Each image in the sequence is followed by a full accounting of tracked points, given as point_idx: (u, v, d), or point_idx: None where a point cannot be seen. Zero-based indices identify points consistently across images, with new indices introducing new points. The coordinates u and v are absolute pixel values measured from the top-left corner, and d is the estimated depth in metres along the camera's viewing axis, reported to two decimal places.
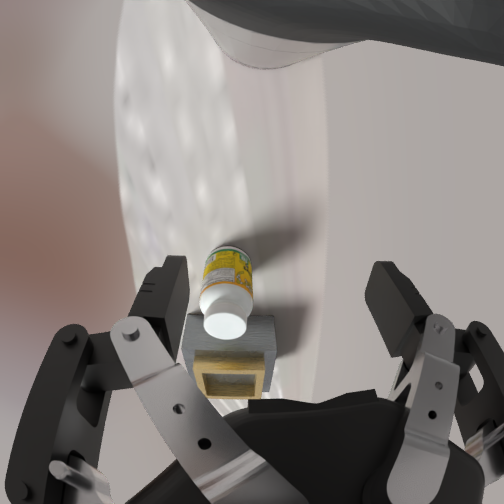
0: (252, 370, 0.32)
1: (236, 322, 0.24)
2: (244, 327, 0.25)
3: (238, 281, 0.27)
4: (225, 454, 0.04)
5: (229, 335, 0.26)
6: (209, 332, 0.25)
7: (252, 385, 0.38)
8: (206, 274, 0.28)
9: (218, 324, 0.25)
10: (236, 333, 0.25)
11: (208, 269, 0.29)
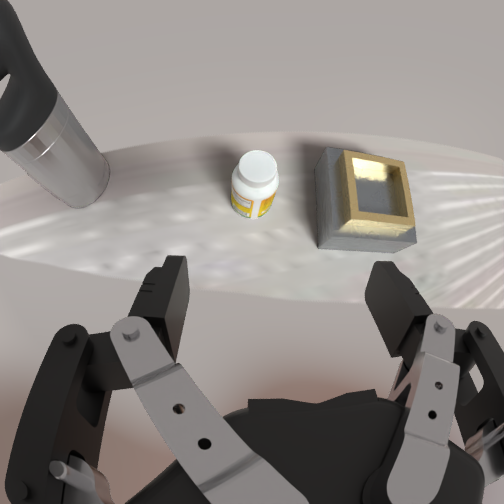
0: (346, 160, 0.30)
1: (251, 156, 0.28)
2: (258, 151, 0.28)
3: None
4: (225, 454, 0.04)
5: (270, 163, 0.28)
6: (266, 178, 0.27)
7: (392, 174, 0.33)
8: (238, 203, 0.32)
9: (254, 170, 0.27)
10: (267, 157, 0.28)
11: (237, 204, 0.33)
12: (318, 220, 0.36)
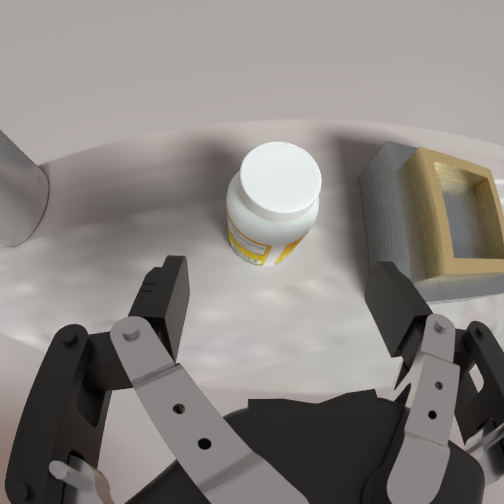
0: (426, 165, 0.15)
1: (266, 154, 0.13)
2: (280, 144, 0.13)
3: None
4: (225, 454, 0.04)
5: (307, 169, 0.13)
6: (301, 203, 0.12)
7: (474, 188, 0.18)
8: (242, 246, 0.17)
9: (274, 184, 0.13)
10: (300, 157, 0.13)
11: (239, 246, 0.18)
12: (371, 262, 0.21)
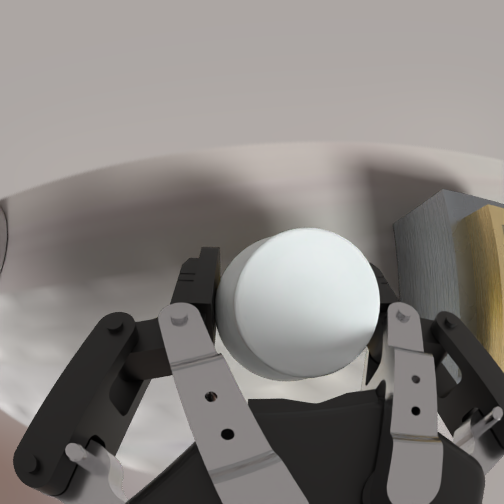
0: (495, 233, 0.10)
1: (285, 260, 0.07)
2: (311, 233, 0.07)
3: None
4: (245, 448, 0.04)
5: (357, 286, 0.07)
6: (345, 358, 0.07)
7: None
8: None
9: (299, 325, 0.07)
10: (347, 261, 0.07)
11: None
12: None
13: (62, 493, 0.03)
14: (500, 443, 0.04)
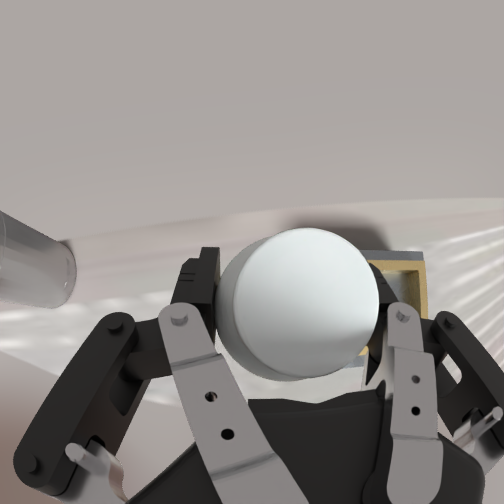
0: None
1: (284, 260, 0.07)
2: (310, 234, 0.07)
3: None
4: (245, 448, 0.04)
5: (356, 287, 0.07)
6: (344, 358, 0.07)
7: (408, 275, 0.27)
8: None
9: (298, 325, 0.07)
10: (346, 261, 0.07)
11: None
12: None
13: (62, 493, 0.03)
14: (500, 443, 0.04)
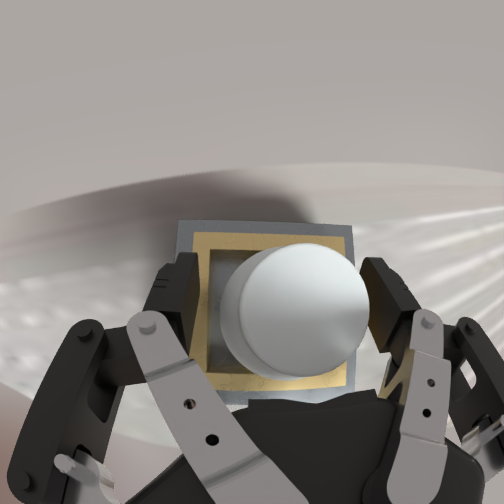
0: None
1: (284, 272, 0.08)
2: (308, 248, 0.08)
3: None
4: (231, 452, 0.04)
5: (349, 296, 0.08)
6: (337, 359, 0.07)
7: None
8: None
9: (296, 330, 0.08)
10: (340, 273, 0.08)
11: None
12: None
13: None
14: None
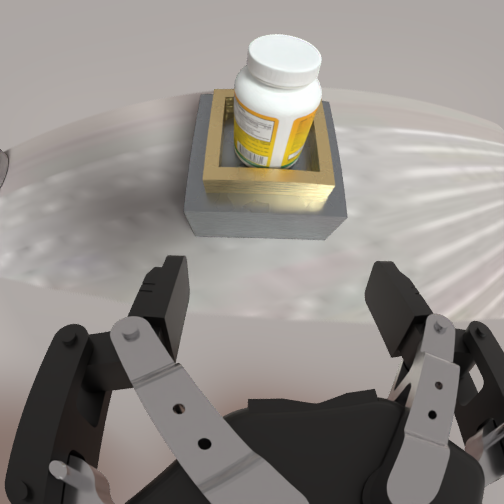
0: (214, 101, 0.20)
1: (271, 40, 0.12)
2: (283, 35, 0.12)
3: None
4: (225, 454, 0.04)
5: (307, 50, 0.12)
6: (305, 67, 0.11)
7: None
8: (248, 135, 0.16)
9: (279, 55, 0.12)
10: (301, 43, 0.12)
11: (245, 139, 0.17)
12: None
13: None
14: None
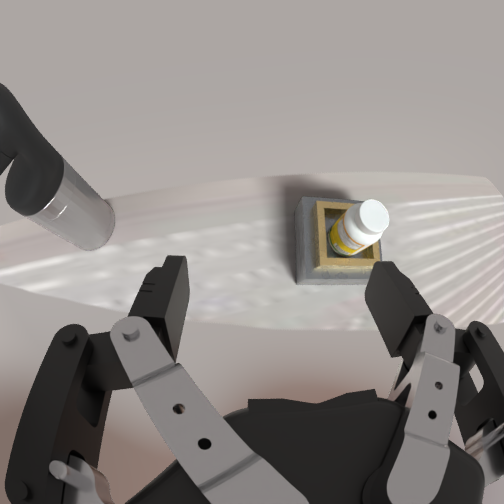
0: (318, 210, 0.37)
1: (368, 205, 0.29)
2: (372, 200, 0.29)
3: (343, 215, 0.33)
4: (225, 454, 0.04)
5: (383, 212, 0.29)
6: (383, 228, 0.29)
7: None
8: (345, 245, 0.34)
9: (372, 219, 0.29)
10: (380, 207, 0.29)
11: (342, 245, 0.34)
12: (296, 260, 0.43)
13: None
14: None
